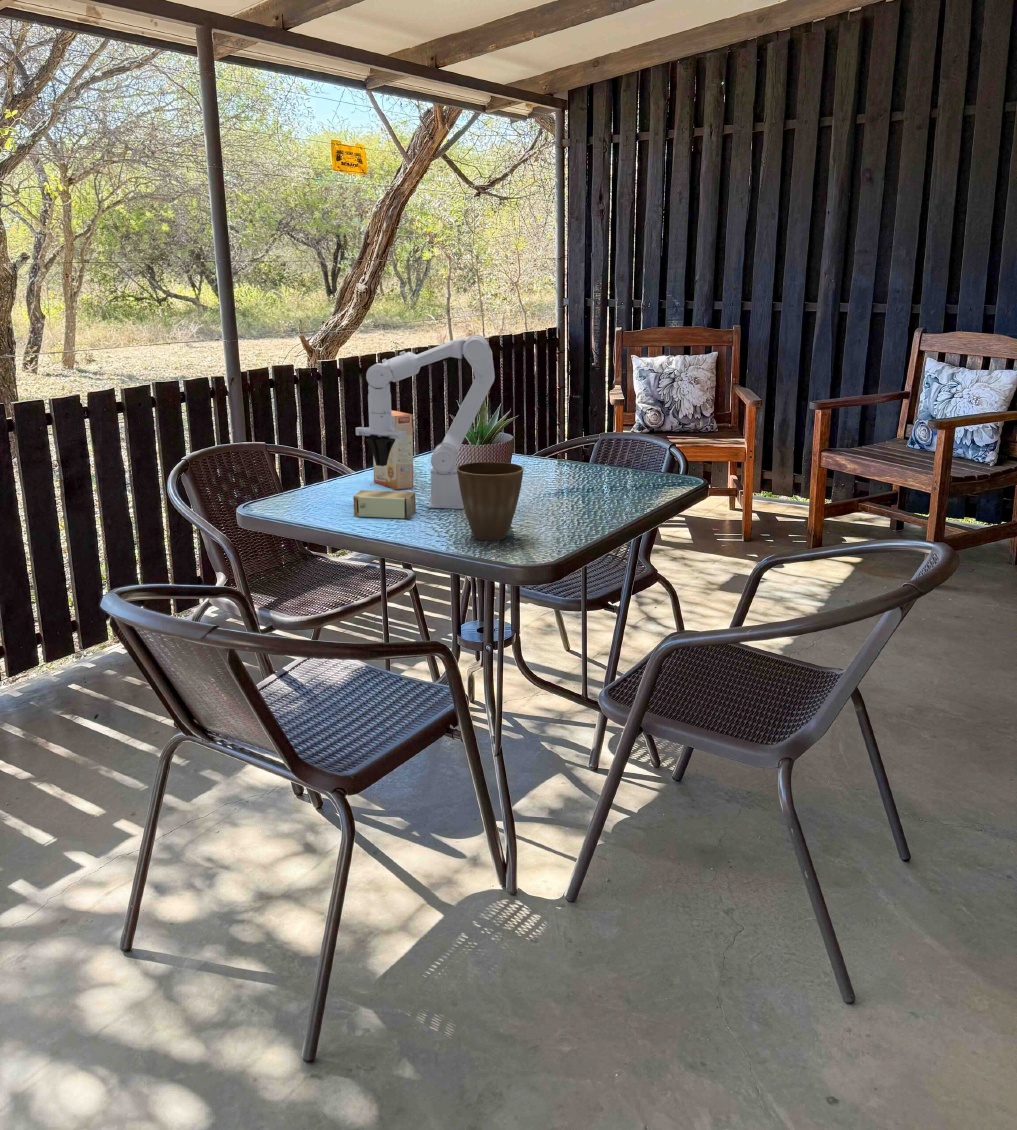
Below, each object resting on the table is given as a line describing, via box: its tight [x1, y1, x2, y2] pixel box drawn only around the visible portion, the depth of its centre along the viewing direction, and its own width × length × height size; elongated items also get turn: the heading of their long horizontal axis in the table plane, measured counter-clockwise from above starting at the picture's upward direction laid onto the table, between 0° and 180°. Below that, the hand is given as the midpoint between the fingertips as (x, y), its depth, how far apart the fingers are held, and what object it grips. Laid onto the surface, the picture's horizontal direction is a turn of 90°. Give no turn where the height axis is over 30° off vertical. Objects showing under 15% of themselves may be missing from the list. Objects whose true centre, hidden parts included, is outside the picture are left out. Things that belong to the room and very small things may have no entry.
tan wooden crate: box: [352, 489, 417, 519], centre depth 237 cm, size 14×7×5 cm, turn 83°
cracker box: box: [372, 409, 414, 491], centre depth 269 cm, size 14×6×21 cm, turn 34°
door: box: [358, 496, 412, 520], centre depth 233 cm, size 13×2×5 cm, turn 82°
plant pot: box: [456, 461, 525, 542], centre depth 215 cm, size 15×15×16 cm
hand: (381, 465), depth 245 cm, fingers closed
